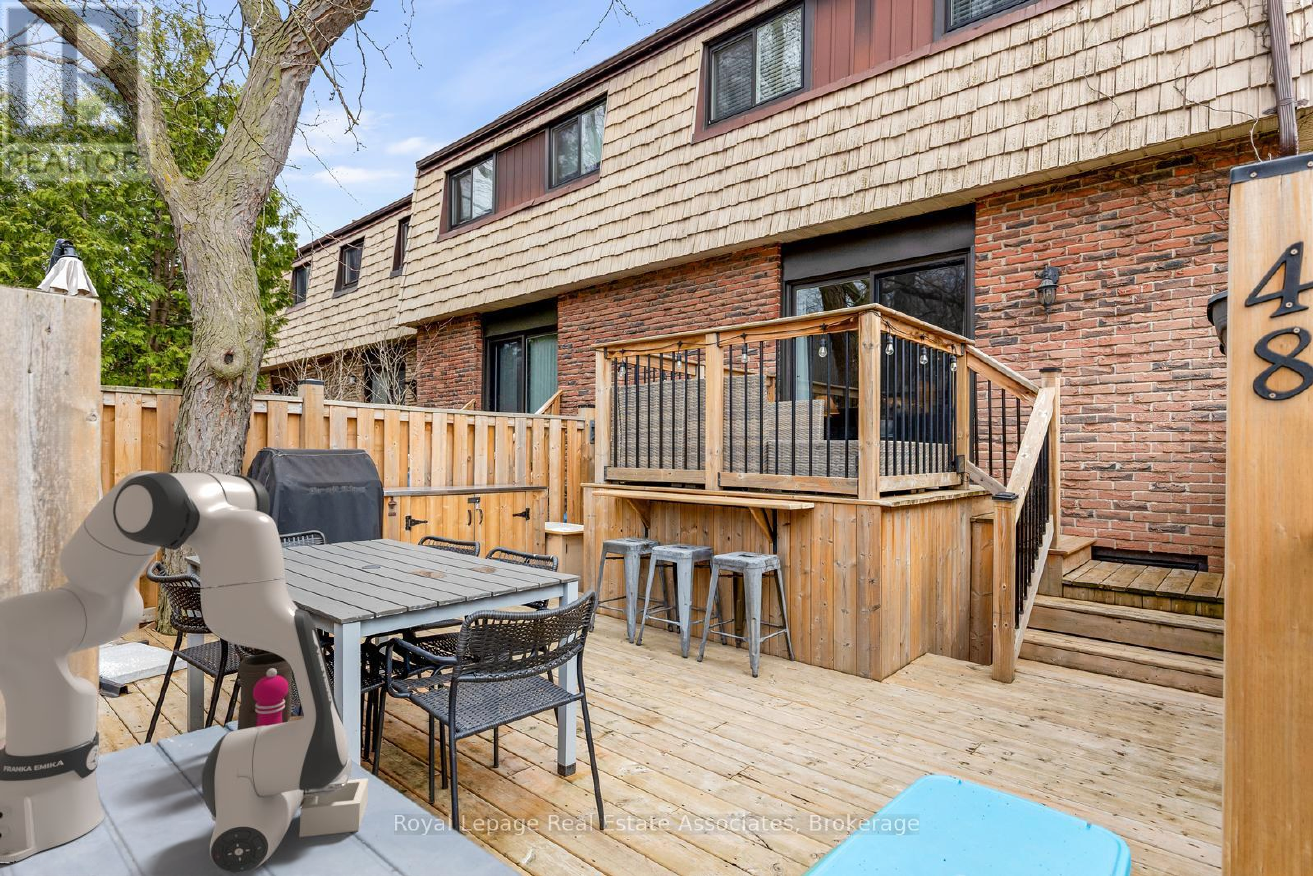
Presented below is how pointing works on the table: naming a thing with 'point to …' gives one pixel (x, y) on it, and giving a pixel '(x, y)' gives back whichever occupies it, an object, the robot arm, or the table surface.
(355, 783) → the socket block
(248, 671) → the beer stein
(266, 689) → the pepper mill
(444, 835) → the table surface
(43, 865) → the table surface
